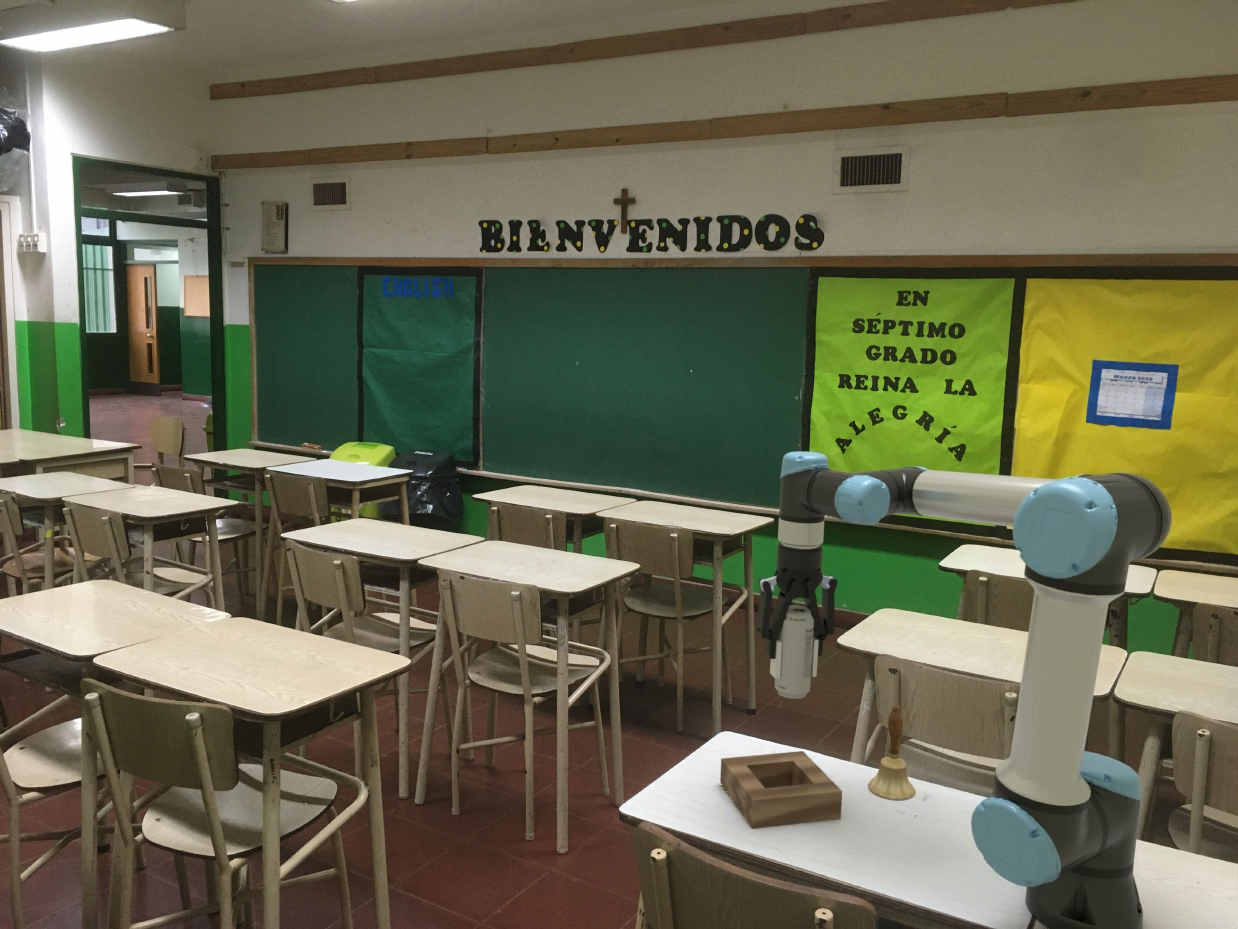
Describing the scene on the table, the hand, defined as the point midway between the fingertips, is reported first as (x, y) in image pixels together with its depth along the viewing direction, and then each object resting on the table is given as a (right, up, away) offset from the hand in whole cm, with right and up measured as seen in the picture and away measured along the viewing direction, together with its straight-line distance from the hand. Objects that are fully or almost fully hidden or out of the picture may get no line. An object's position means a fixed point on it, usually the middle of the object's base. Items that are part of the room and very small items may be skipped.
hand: (793, 674), depth 167 cm
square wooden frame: (-2, -23, +4) cm, 24 cm away
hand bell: (+20, -23, +9) cm, 32 cm away
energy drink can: (0, -4, +1) cm, 4 cm away
